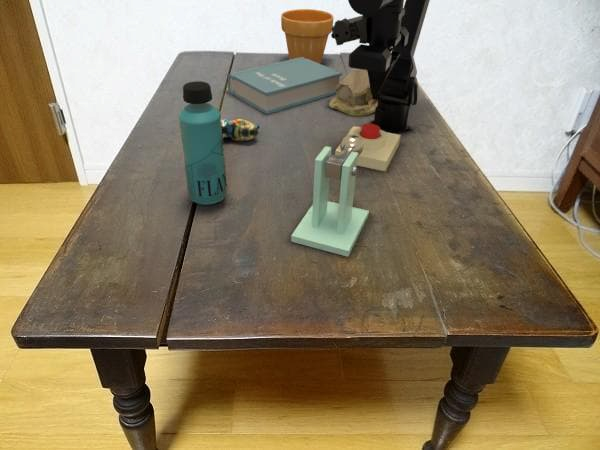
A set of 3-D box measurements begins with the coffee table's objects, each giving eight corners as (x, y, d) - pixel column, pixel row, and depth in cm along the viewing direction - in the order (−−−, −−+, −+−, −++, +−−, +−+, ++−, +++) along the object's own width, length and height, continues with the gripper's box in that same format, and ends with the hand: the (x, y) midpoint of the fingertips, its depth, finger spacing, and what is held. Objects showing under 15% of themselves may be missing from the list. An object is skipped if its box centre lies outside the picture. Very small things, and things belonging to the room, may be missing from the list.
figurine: (193, 114, 104) (262, 116, 102) (194, 134, 105) (262, 137, 104) (177, 119, 94) (254, 122, 92) (178, 142, 95) (254, 145, 94)
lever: (343, 150, 78) (345, 129, 76) (364, 154, 77) (367, 133, 75) (319, 179, 69) (321, 156, 67) (343, 185, 68) (346, 162, 66)
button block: (352, 135, 102) (354, 117, 99) (399, 144, 99) (402, 126, 97) (334, 160, 93) (335, 142, 90) (385, 171, 90) (388, 152, 88)
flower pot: (340, 63, 139) (344, 15, 131) (308, 75, 130) (310, 24, 123) (303, 52, 146) (304, 6, 139) (270, 63, 138) (270, 14, 130)
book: (266, 114, 109) (266, 93, 106) (228, 92, 119) (227, 72, 116) (340, 92, 121) (341, 73, 118) (299, 74, 131) (300, 55, 128)
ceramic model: (351, 120, 108) (356, 76, 102) (321, 103, 115) (323, 61, 109) (396, 106, 115) (403, 64, 109) (365, 91, 122) (369, 51, 116)
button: (363, 130, 96) (364, 122, 94) (381, 133, 94) (382, 125, 93) (358, 137, 93) (359, 129, 92) (376, 141, 92) (377, 133, 91)
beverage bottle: (195, 217, 77) (180, 96, 65) (183, 196, 82) (167, 80, 70) (234, 207, 79) (226, 89, 67) (220, 187, 84) (210, 74, 72)
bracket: (316, 204, 81) (320, 134, 73) (368, 216, 78) (377, 145, 70) (290, 241, 72) (292, 167, 65) (348, 257, 70) (356, 181, 62)
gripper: (355, -13, 89) (347, 72, 98) (320, 9, 75) (316, 105, 84) (415, -6, 86) (402, 80, 95) (391, 17, 71) (378, 116, 81)
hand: (374, 94), depth 89 cm, fingers closed
